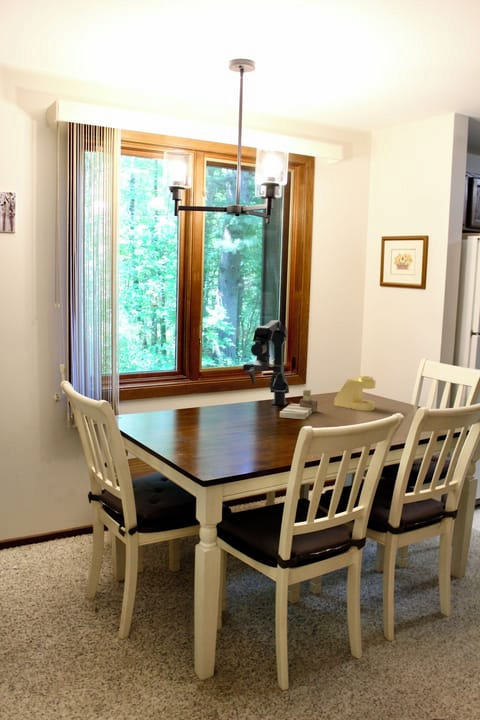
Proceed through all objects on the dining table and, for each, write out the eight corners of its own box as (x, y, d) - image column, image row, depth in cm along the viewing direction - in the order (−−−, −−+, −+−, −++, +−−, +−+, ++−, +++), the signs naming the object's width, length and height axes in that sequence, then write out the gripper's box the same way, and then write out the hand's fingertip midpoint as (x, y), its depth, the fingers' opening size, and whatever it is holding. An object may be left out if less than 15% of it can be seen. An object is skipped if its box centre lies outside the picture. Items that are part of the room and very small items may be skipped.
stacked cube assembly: (301, 408, 329) (301, 388, 328) (317, 409, 327) (317, 389, 325) (298, 410, 325) (299, 390, 323) (314, 412, 322) (315, 391, 321)
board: (290, 408, 333) (291, 403, 332) (314, 410, 329) (314, 405, 328) (279, 417, 314) (279, 411, 314) (304, 419, 310) (304, 414, 310)
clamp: (377, 408, 334) (379, 377, 331) (368, 411, 327) (369, 379, 325) (344, 402, 347) (345, 372, 345) (334, 405, 340) (334, 374, 338)
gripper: (238, 354, 307) (238, 387, 309) (277, 356, 300) (277, 390, 303) (246, 351, 317) (246, 383, 319) (284, 353, 311) (284, 386, 313)
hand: (263, 385), depth 313 cm, fingers open, 9 cm apart
